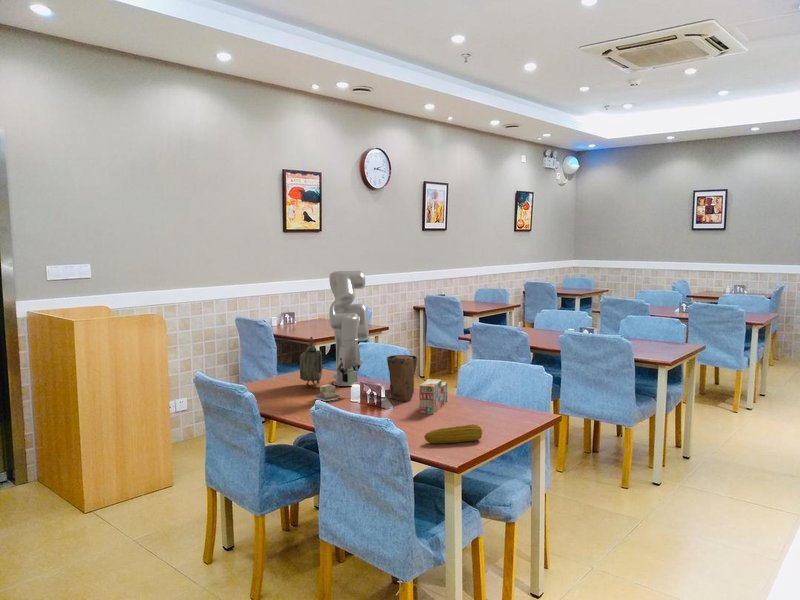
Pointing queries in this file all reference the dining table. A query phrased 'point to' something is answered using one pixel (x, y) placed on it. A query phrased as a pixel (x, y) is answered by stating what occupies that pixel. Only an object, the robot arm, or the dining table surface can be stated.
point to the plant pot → (405, 355)
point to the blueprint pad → (327, 398)
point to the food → (454, 434)
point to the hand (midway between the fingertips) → (349, 380)
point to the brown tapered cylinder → (402, 378)
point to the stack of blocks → (432, 396)
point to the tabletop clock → (311, 365)
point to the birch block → (327, 391)
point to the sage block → (351, 376)
